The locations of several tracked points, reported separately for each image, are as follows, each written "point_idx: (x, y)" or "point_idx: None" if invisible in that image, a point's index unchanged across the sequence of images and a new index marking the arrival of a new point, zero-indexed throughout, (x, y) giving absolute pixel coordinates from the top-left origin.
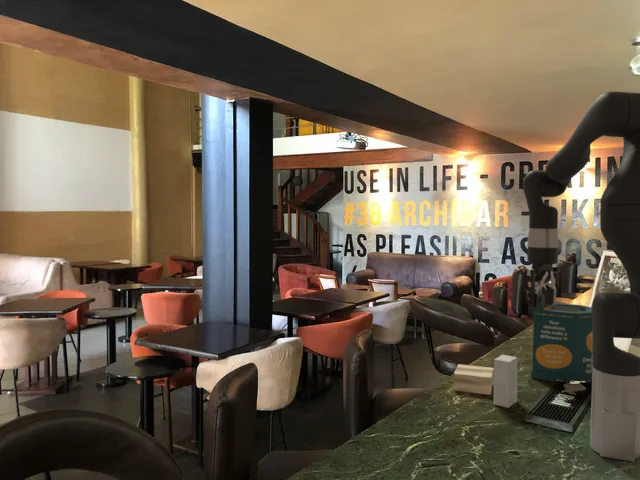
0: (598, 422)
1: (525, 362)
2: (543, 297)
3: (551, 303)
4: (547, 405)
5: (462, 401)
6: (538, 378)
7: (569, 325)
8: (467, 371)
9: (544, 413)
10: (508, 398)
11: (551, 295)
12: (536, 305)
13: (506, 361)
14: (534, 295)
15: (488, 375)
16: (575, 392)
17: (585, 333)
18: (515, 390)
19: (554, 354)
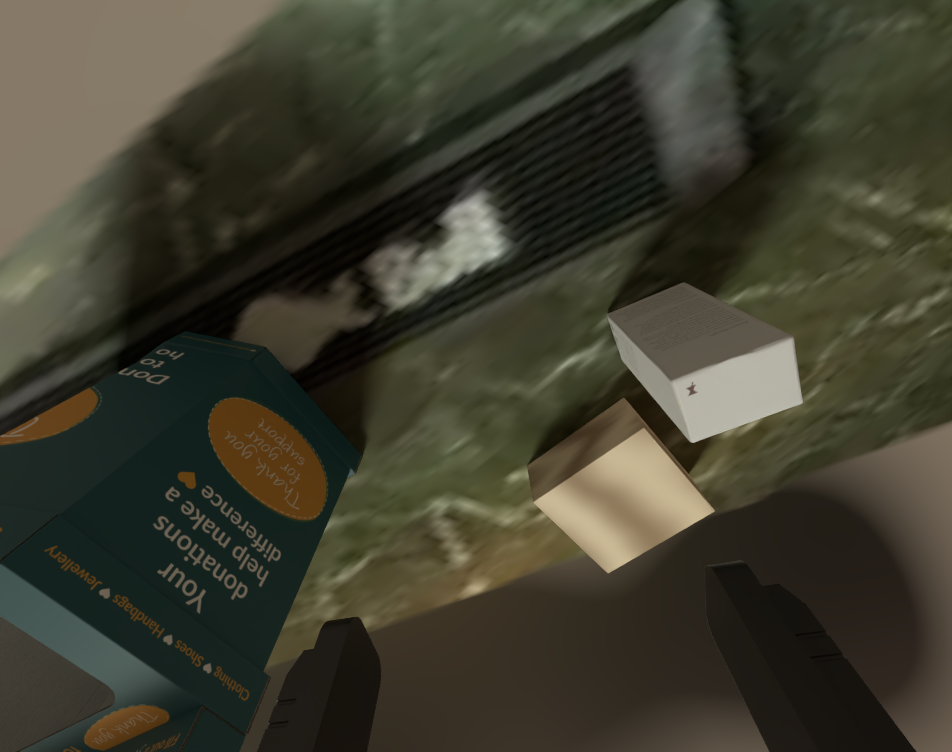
0: None
1: None
2: None
3: (354, 631)
4: (540, 237)
5: None
6: (345, 439)
7: (116, 520)
8: (653, 509)
9: (622, 182)
10: (700, 291)
11: (322, 747)
12: (754, 579)
13: (792, 351)
14: (885, 743)
15: (628, 450)
16: (327, 287)
17: (46, 449)
18: (637, 319)
19: (267, 460)
